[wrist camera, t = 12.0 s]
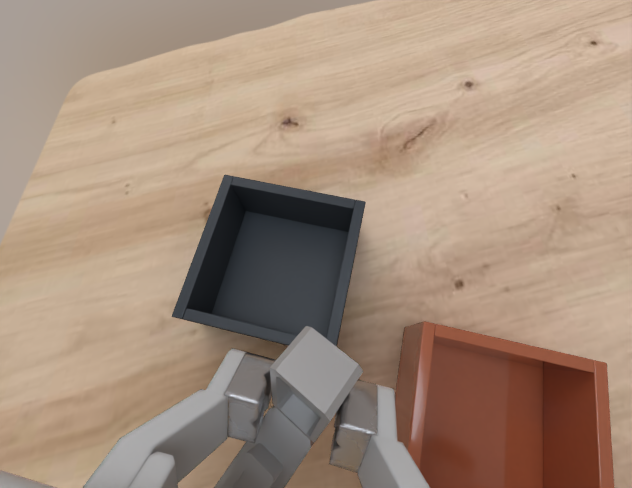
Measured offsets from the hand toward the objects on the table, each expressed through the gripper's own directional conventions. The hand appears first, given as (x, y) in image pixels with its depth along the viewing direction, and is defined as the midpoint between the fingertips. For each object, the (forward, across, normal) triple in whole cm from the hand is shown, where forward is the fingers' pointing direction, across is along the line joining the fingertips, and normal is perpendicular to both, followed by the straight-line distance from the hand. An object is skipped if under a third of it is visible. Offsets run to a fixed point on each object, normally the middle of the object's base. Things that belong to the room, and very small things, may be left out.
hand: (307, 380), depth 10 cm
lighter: (+2, 0, +5) cm, 5 cm away
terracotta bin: (+11, -12, +13) cm, 21 cm away
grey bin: (+16, +5, +7) cm, 18 cm away
